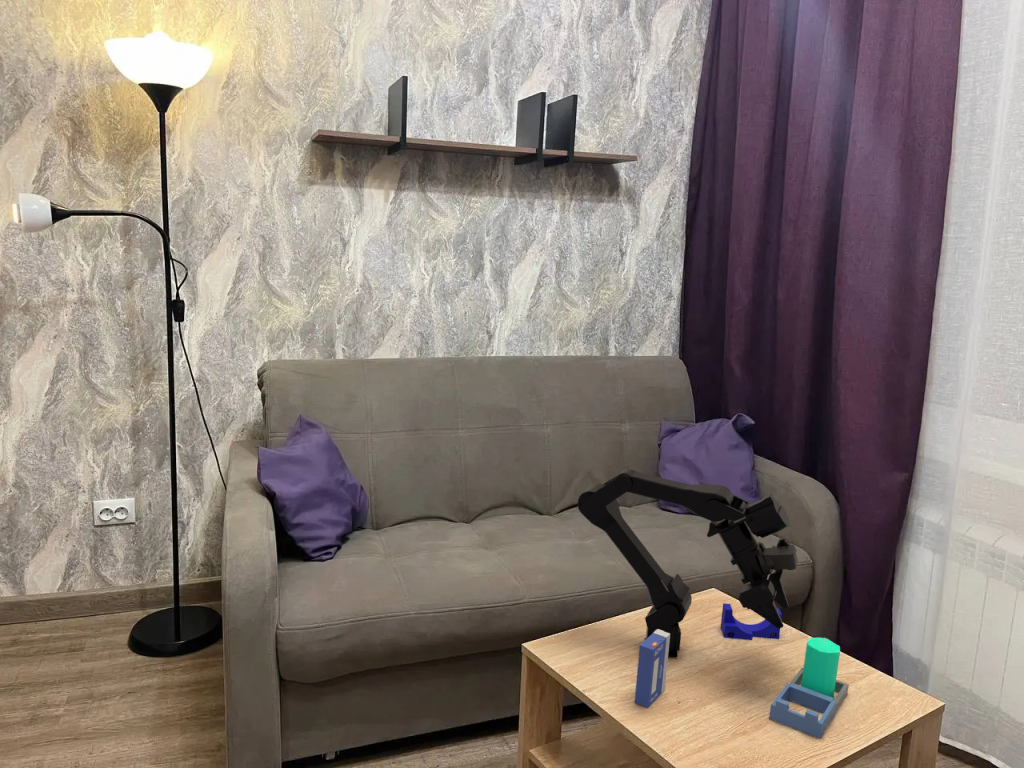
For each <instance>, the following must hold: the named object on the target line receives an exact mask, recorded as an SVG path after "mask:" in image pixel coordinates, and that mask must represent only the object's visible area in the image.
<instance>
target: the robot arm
mask: <svg viewBox="0 0 1024 768" xmlns="http://www.w3.org/2000/svg"><path fill="white" fill-rule="evenodd" d="M625 493H631V494H635V495H638V496H641V497H642V496H643V497H645V498H651V499H653V500H658V501H662V502H666V503H668V504H669V503H670V504H672V505H673V504H674V505H677V506H680V507H683V508H685V509H687V510H689V511H690V512H691V513H693V514H694V515H696V516H699V517H701V518H703V519H706V520H708V521H710V522H709V526H708V527H709V528H708V531H707V534H706V536H707V538H712V537H713V536H715V535H717V534H718V536H719V538H720V540H721V541H722V543H723V544H724V546H725V548H726V550H727V552H728V553H729V555H730V557H731V559H730V563H731V565H732V566H737V570H738V571H739V572H740V574H741V576H742V577H741V579H740V580H741V583H742V584H743V586H742V588H741V590H740V593H739V596H738V601H739V603H740V604H741V607H742V609H747V610H751V611H752V612H754V614H755V613H756V614H757V615H758V616H760V617H762V618H763V619H764V620H765V619H766V620H767V621H768V622H770V623H771V624H773V625H774V626H775V627H777V628H778V629H780V630H781V629H782V628H783V627H784V624H783V620H782V619H781V617H780V615H779V613H778V610H777V608H778V607H777V605H776V604H778V605H779V606H780V607H781V608H782V609H788V608H789V605H790V604H789V603H788V599H787V595H786V592H785V588H784V586H783V585H784V584H783V582H782V574H783V572H784V570H787V571H794V570H796V569H797V568H798V566H797V565H798V564H799V563H798V562H799V561H798V556H797V555H798V554H797V547H796V546H795V545H794V544H792V543H791V542H790V541H789V539H788V538H785V537H784V538H779V539H778V542H777V544H776V546H775V545H772V547H766V546H765V544H764V543H763V542H761V541H757V540H756V538H755V536H756V537H757V538H761V539H764V538H766V537H768V536H771V535H773V534H776V533H779V532H780V531H782V530H784V529H787V528H789V527H791V521H790V519H789V515H788V514H787V511H786V509H785V508H784V506H783V505H781V503H780V502H779V501H778V500H777V499H775V498H774V496H773V494H768V495H765V496H764V497H763V498H761V499H760V500H757V501H755V502H753V503H751V502H749V501H747V500H746V499H743V498H741V497H739V496H738V495H735V494H733V492H732V491H731V490H730V488H729V487H727V486H725V485H722V484H707V483H702V484H701V483H700V484H689V483H688V484H687V483H684V482H680V481H676V480H672V479H668V478H664V477H659V476H656V475H651V474H647V473H643V472H640V471H636V470H635V469H631V468H626V469H624V470H622V471H621V472H620V473H619V474H617V475H615V476H613V477H612V478H609V480H607V481H605V482H604V483H603V484H602V483H594V484H592V485H590V486H589V487H588V488H587V489H586V490H585V491H583V492H582V493H581V494H580V495H579V497H578V499H577V509H578V511H579V513H580V514H581V515H582V517H584V518H585V519H586V520H587V521H588V522H589V523H591V524H592V525H593V526H595V527H596V528H598V529H599V530H601V531H603V532H604V533H605V534H606V536H608V537H609V539H610V540H611V542H612V543H613V544H614V545H615V547H616V549H618V550H619V552H620V553H621V555H622V556H623V557H624V558H625V560H626V561H627V563H628V564H629V565H630V567H631V568H632V569H633V571H634V572H635V573H636V575H637V576H638V577H639V578H640V579H641V581H642V583H643V584H644V585H645V586H646V588H647V591H648V594H649V597H650V601H651V603H652V607H651V608H650V610H649V611H648V613H647V615H645V618H644V620H645V624H646V631H645V637H644V641H645V640H646V639H647V638H648V637H649V636H650V635H651V634H653V633H654V632H655V631H656V630H657V629H659V630H662V631H664V632H667V633H670V642H669V652H668V658H678V655H679V654H678V652H679V651H680V650H681V647H680V646H681V640H682V638H681V637H682V629H681V627H680V624H679V623H681V622H682V621H683V620H685V617H686V615H687V613H688V611H689V609H690V607H691V606H692V602H693V600H692V594H691V593H690V590H691V588H690V587H689V586H688V585H687V584H686V583H685V582H684V581H683V579H682V577H681V575H680V574H679V573H676V575H675V576H671V575H669V574H668V573H666V572H665V571H664V570H663V568H662V567H661V566H660V565H659V564H658V562H657V561H656V559H655V558H654V557H653V555H651V553H650V552H649V550H648V549H647V548H646V546H645V545H644V544H643V542H641V540H640V539H639V537H638V536H637V534H636V533H635V532H634V531H633V529H631V527H630V526H629V524H628V523H627V521H625V519H624V517H623V516H622V512H621V508H620V506H619V503H618V501H617V499H618V498H619V497H621V496H623V495H624V494H625ZM745 584H746V585H745ZM775 602H776V603H775Z"/></svg>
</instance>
